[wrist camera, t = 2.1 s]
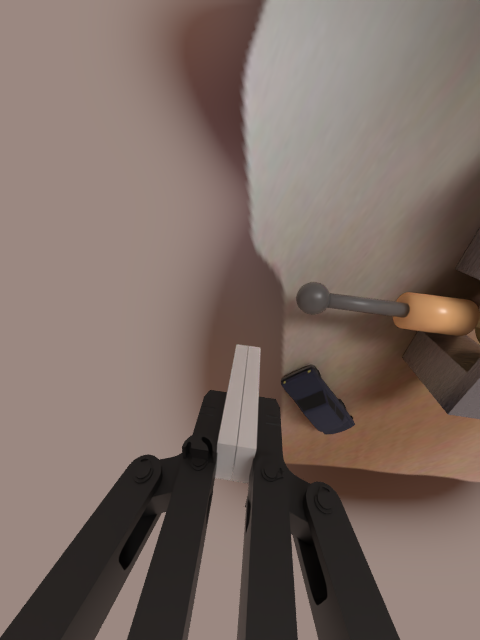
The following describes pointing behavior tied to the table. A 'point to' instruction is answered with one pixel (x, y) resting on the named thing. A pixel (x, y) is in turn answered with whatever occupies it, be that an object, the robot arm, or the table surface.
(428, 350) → the housing
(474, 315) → the wood and metal rod
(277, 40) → the table surface
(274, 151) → the table surface
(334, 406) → the toy car
